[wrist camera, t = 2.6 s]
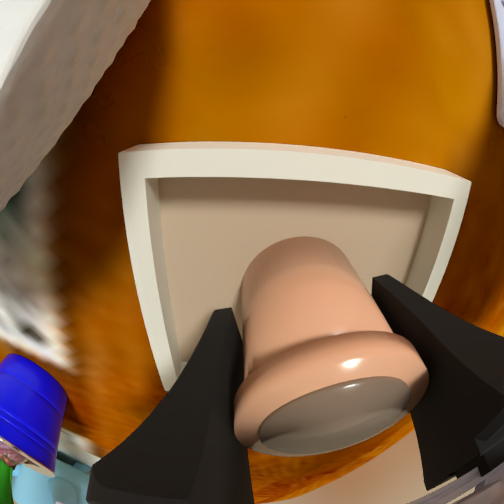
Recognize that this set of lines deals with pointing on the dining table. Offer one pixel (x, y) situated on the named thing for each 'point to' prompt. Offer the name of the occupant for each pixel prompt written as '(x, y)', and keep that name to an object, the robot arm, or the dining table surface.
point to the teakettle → (51, 484)
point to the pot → (318, 355)
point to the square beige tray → (271, 224)
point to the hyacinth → (28, 420)
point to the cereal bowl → (51, 72)
